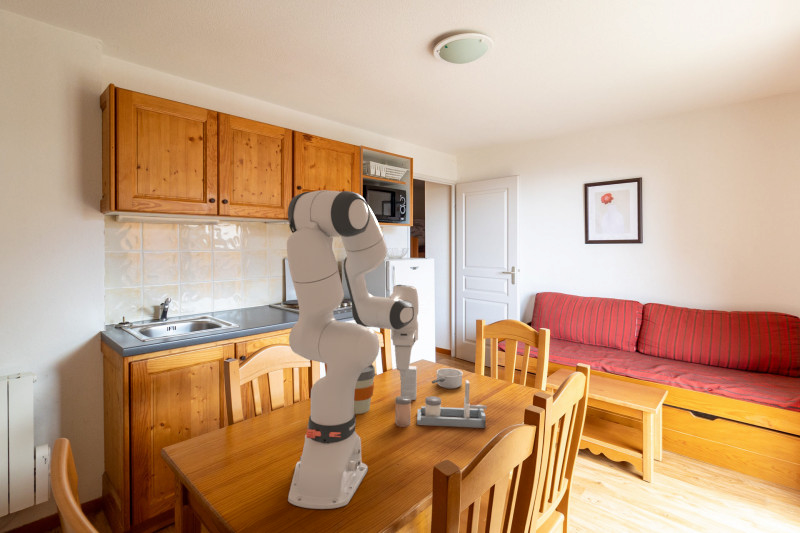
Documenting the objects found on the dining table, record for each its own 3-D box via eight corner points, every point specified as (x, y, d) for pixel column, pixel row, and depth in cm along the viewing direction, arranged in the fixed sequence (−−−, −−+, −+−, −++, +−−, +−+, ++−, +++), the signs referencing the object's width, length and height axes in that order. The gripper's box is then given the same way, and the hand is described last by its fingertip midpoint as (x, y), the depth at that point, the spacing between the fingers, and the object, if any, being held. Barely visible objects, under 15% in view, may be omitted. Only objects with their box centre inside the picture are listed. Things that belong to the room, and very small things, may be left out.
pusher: (487, 425, 126) (488, 385, 125) (465, 423, 126) (466, 384, 126) (484, 417, 132) (485, 379, 131) (463, 416, 132) (464, 378, 131)
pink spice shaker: (410, 427, 124) (410, 402, 123) (394, 426, 124) (394, 401, 124) (410, 420, 129) (411, 396, 128) (395, 419, 129) (395, 395, 129)
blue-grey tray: (485, 427, 124) (485, 415, 124) (417, 424, 126) (417, 412, 125) (481, 416, 133) (481, 404, 133) (417, 413, 135) (417, 401, 134)
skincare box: (416, 396, 150) (417, 366, 150) (415, 400, 146) (416, 369, 145) (401, 395, 151) (401, 365, 150) (400, 399, 146) (400, 368, 146)
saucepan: (420, 392, 155) (420, 378, 154) (443, 378, 171) (443, 366, 171) (445, 398, 148) (445, 384, 148) (467, 384, 165) (467, 371, 164)
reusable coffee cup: (357, 419, 129) (358, 375, 128) (332, 409, 136) (332, 368, 136) (381, 407, 139) (382, 366, 138) (356, 398, 146) (357, 360, 145)
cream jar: (441, 423, 127) (441, 402, 127) (424, 422, 127) (425, 402, 127) (440, 416, 132) (440, 396, 132) (424, 415, 133) (425, 395, 132)
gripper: (397, 326, 136) (396, 365, 136) (392, 341, 115) (391, 386, 116) (414, 327, 135) (414, 365, 136) (413, 342, 115) (412, 387, 116)
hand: (404, 375), depth 126 cm, fingers open, 8 cm apart
